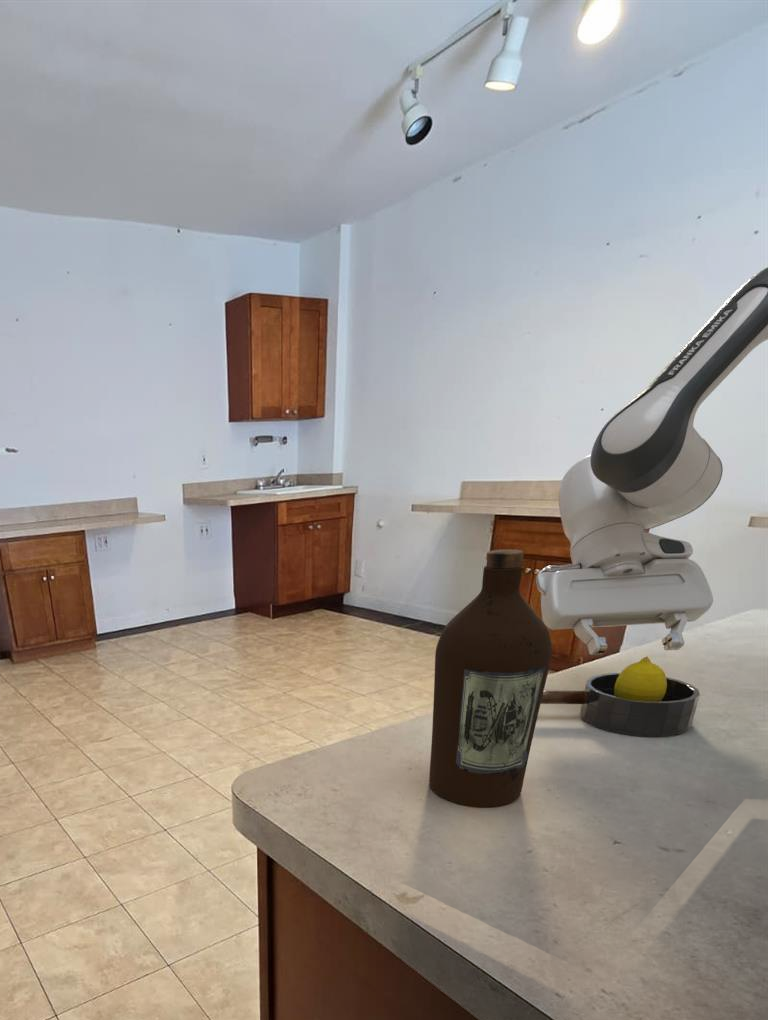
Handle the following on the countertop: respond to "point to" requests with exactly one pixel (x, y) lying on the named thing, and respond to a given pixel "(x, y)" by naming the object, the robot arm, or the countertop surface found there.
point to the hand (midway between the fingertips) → (636, 650)
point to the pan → (639, 709)
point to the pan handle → (564, 697)
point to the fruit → (641, 682)
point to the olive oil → (488, 690)
